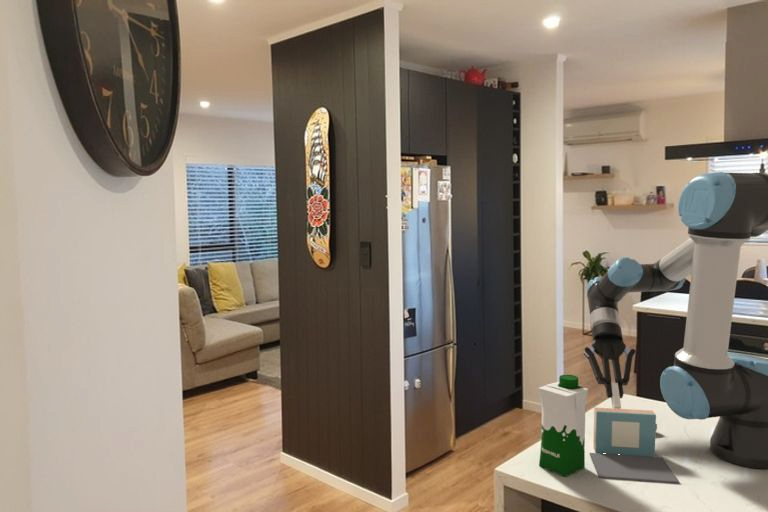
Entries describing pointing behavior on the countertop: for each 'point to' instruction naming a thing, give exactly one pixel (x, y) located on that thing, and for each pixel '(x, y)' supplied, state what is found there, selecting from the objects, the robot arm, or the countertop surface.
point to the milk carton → (563, 426)
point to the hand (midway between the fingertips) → (617, 409)
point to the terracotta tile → (624, 431)
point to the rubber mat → (633, 468)
